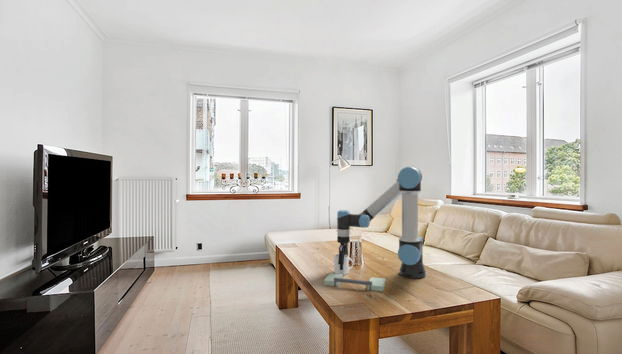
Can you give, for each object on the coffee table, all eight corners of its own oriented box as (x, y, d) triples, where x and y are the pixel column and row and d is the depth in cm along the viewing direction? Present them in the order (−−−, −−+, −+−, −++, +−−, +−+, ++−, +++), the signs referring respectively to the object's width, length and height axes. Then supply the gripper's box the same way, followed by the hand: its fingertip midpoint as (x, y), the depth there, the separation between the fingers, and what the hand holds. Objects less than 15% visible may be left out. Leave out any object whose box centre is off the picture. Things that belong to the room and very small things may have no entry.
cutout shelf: (385, 283, 179) (385, 275, 179) (382, 291, 167) (382, 283, 167) (329, 277, 190) (329, 270, 190) (323, 284, 177) (323, 277, 177)
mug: (355, 274, 195) (355, 256, 195) (336, 275, 192) (336, 258, 192) (350, 270, 203) (350, 253, 203) (332, 271, 201) (332, 254, 200)
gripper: (341, 232, 208) (341, 267, 208) (333, 238, 188) (333, 277, 188) (353, 232, 206) (353, 268, 206) (345, 239, 185) (345, 278, 186)
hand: (343, 272), depth 197 cm, fingers closed on mug, 9 cm apart
